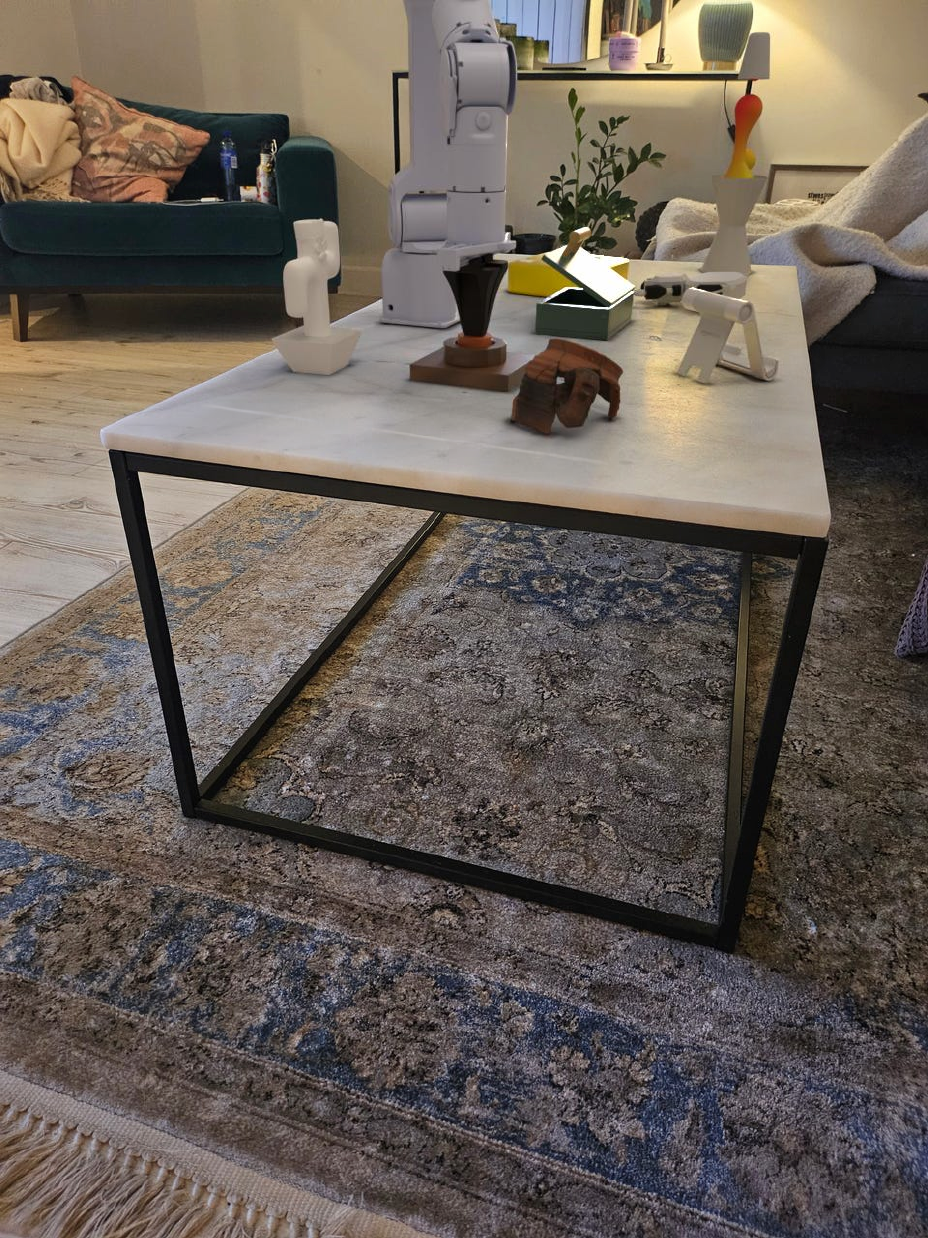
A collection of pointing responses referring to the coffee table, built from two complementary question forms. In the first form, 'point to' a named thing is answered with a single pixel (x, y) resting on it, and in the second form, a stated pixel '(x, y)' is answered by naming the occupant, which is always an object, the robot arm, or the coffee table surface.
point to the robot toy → (692, 285)
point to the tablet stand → (724, 337)
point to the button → (474, 340)
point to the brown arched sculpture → (565, 386)
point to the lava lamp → (740, 171)
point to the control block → (472, 366)
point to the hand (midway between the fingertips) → (474, 334)
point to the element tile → (550, 275)
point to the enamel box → (581, 315)
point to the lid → (588, 270)
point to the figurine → (314, 303)
